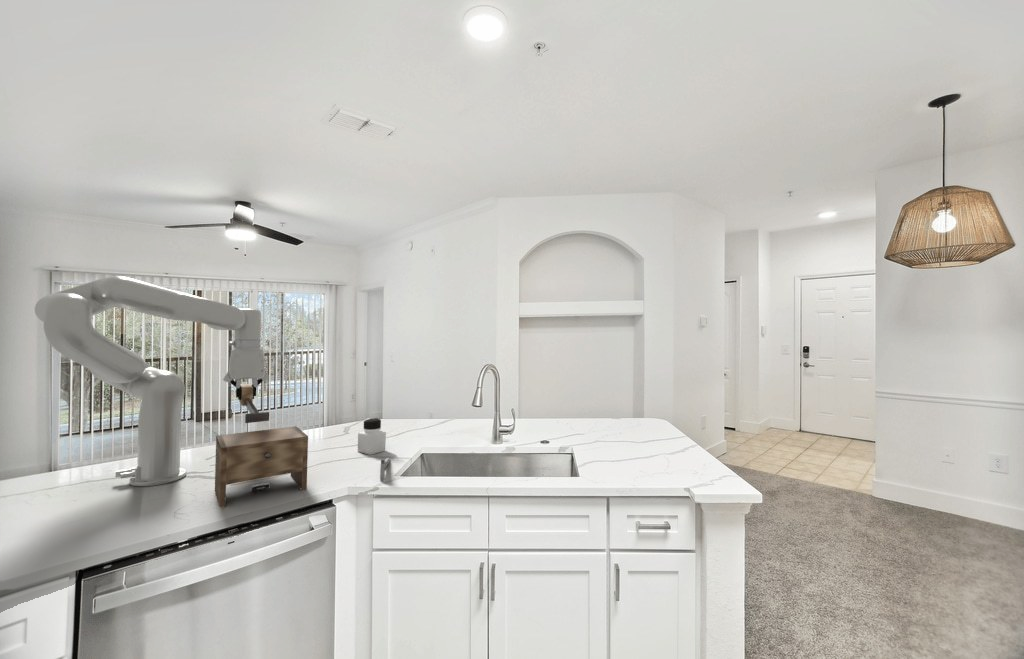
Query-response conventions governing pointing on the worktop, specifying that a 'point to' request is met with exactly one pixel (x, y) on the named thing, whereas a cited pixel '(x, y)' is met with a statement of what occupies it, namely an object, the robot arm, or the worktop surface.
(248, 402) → the scraper
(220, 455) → the walnut cabinet
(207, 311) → the robot arm
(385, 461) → the caliper
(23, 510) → the worktop surface
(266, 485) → the steel token
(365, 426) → the medicine bottle
